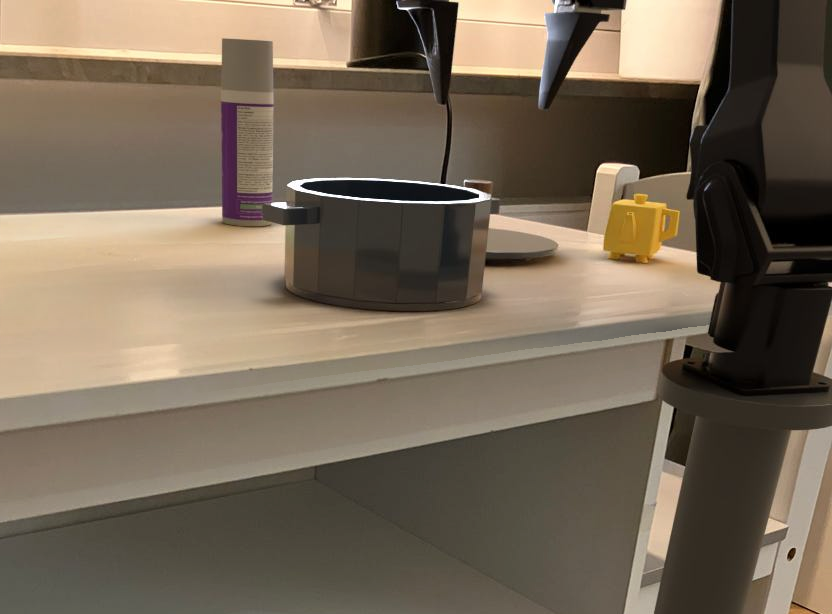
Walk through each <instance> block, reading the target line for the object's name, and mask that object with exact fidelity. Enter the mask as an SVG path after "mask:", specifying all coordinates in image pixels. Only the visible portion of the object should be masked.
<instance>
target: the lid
mask: <svg viewBox="0 0 832 614" xmlns="http://www.w3.org/2000/svg"><path fill="white" fill-rule="evenodd" d="M493 185H494V182H493V181H491V180H485V179H484V180H483V179H464V181H463V188H469V189H475V190H478V191H481V192H484V193H487V194H491V196H493V187H494V186H493ZM558 251H559V243H558V242H557V241H555V240H553V239H551V238H548V237H545V236H543V235H542V236H541V235H536V234H533V233H528V232H521V231H515V230H510V229H500V228H491V227H489V230H488V239H487V248H486V258H485V263H494V264H496V263H498V264H501V263H502V264H504V263H517V262H525V261H531V260H533V259H537V258H546V257H550V256H553V255H555V254H557V253H558Z"/></svg>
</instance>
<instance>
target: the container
mask: <svg viewBox="0 0 832 614" xmlns="http://www.w3.org/2000/svg"><path fill="white" fill-rule="evenodd" d="M220 84H221V86H220V88H221V89H220V90H221V91H220V129H221V130H220V132H221V133H220V135H221V136H220V137H221V139H220V143H221V219H222V220H221V222H222V224H223V223H224V224H226V225H231V226H239V227H268V226H271V225H272V224H273V223H272V222H268V221H264V220H262V204H263V203H273V181H274V180H273V178H274V177H273V173H274V172H273V171H274V170H273V169H274V108H275V107H274V105H275V104H274V42H273V41H272V40H259V39H243V38H228V37H227V38H226V37H225V38H224V37H223V38H221V83H220Z"/></svg>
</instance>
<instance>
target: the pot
mask: <svg viewBox="0 0 832 614" xmlns="http://www.w3.org/2000/svg"><path fill="white" fill-rule="evenodd" d="M285 187H286V189H285V202H272V203H263V204H262V220H264V221H268V222H272V224H276V225H280V226H285V227H284V228H285V229H284V230H285V232H284V235H285V236H284V238H285V239H284V280H285V287H286V289H287V290H288V291H289V292H290V293H291V294H294V295H296V296H298V297H300V298H304V299H307V300H311V301H314V302H318V303H323V304H327V305H332V306H337V307H345V308H353V309H361V310H370V311H371V310H374V311H386V312H387V311H389V312H431V311H432V312H433V311H445V310H454V309H459V308H464V307H465V308H466V307H468V306H471V305H474V304H477V303H478V302H479V301H480V300H481V298H482V293H483V285H484V276H485V267H486V262H485V258H486V248H487V239H488V230H489V228H490V219H491V215H499V214H500V207H501V198H496V197H492V196H493V195H492V196H491V194H487V193H484V192H481V191H478V190H475V189H469V188H464V186H463V187H462V186H457V185H451V184H450V185H449V184H442V183H434V182H433V183H432V182H424V181H415V180H401V179H400V180H398V179H383V178H354V177H353V178H352V177H336V178H334V177H331V178H309V179H301V180H294V181H291V182H290V183H288V184H287V185H286V186H285Z"/></svg>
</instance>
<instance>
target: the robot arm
mask: <svg viewBox="0 0 832 614" xmlns="http://www.w3.org/2000/svg"><path fill="white" fill-rule="evenodd" d="M550 1H551V3H552V4H553V6H554V9H553V10H554V11H553V12H544V13H543V17H544V21H545V29H546V33H547V38H546V43H545V50H544V57H543V64H542V70H541V76H540V77H541V78H540V83H539V92H538V94H539V95H538V109H539V110H540V111H548V110H549V109H550V107H551V106H552V104H553V102H554V100H555V99H556V96H557V94H558V92H559V90H560V88H561V87H562V85H563V83H564V82H565V80H566V77H567V76H568V74H569V72H570V70H571V68H572V67H573V65H574V63H575V61H576V59H577V57H578V56H579V54H580V52H581V51H582V49H584V46H585V45H586V44H587V42H588V41H589V39H590V38H591V36H592V34H593V33H594V31H596V29H597V27H598V26H599V24H600V23H608V22H609V21H610V17H611V14H609V13H602V11H604V12H605V11H625V10H626V8H627V1H628V0H550ZM731 1H732V3H731V30H730V33H731V34H730V35H731V36H730V61H729V62H730V63H729V64H730V65H729V66H730V67H729V68H730V69H729V81H728V89H727V92H726V93H725V95H724V97H723V99H722V100H721V103H720V104H719V105H718V108H717V110H716V112H715V113H714V115H713V117H712V119H711V120H710V122H709V124H702V125H701V124H699V125H696V126H694V127H693V129H692V131H691V135H690V138H689V152H690V166H691V167H690V168H691V170H690V179H689V184H688V188H687V192H686V196H685V197H686V200H687V201H693V202H692V205H693V217H694V223H695V224H694V225H695V253H696V256H695V257H696V272H697V273H698V274H699V275H702V276H707V277H709V279H710V281H714V282H717V283H719V288H718V292H717V293H716V294H715V297H714V300H713V306H712V310H711V314H710V320H709V324H708V329H707V335H708V336H709V337H710V338H713V339H712V343H713V344H714V345H715V346H717V347H718V348H721V349H724V350H726V351H722V352H719V351H718V352H703V353H702V357H703V358H704V360H703V361H684V362H683V366H682V369H683V370H685V371H687V372H689V373H691V374H694V375H696V376H698V377H700V378H703V379H705V380H707V381H709V382H711V383H714V384H716V385H718V386H720V387H722V388H725V389H727V390H729V391H731V392H733V393H736V394H738V395H742V396H764V395H784V394H804V393H824V392H829V389H830V384H829V383H827V382H824V381H822V380H819V379H816V378H814V377H812V374H813V372H814V370H815V366H816V363H817V358H818V356H819V355H818V354H819V351H820V347H821V343H822V339H823V335H824V332H825V328H826V324H827V321H828V317H829V313H830V310H831V305H832V286H830V285H829V283H830V284H832V92H831V88H829V85H828V84H827V80H826V78H825V76H824V75H825V72H824V59H825V57H824V55H825V54H824V53H825V38H826V22H827V21H826V19H827V2H828V1H827V0H731ZM396 5H397V9H399V10H406V11H407V12H408V14H409V16H410V17H411V19H412V20H413V22H414V24H415V26H416V28H417V31H418V34H419V36H420V39H421V42H422V46H423V49H424V53H425V54H424V55H425V57H426V63H427V67H428V72H429V76H430V80H431V85H432V89H433V94H434V99H435V102H436V104H437V105H438V106H446V104H447V101H448V96H449V92H450V87H451V80H452V71H453V63H454V62H453V60H454V52H455V43H456V32H457V23H458V13H459V5H460V4H459V2H458V1H450V0H396Z"/></svg>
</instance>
